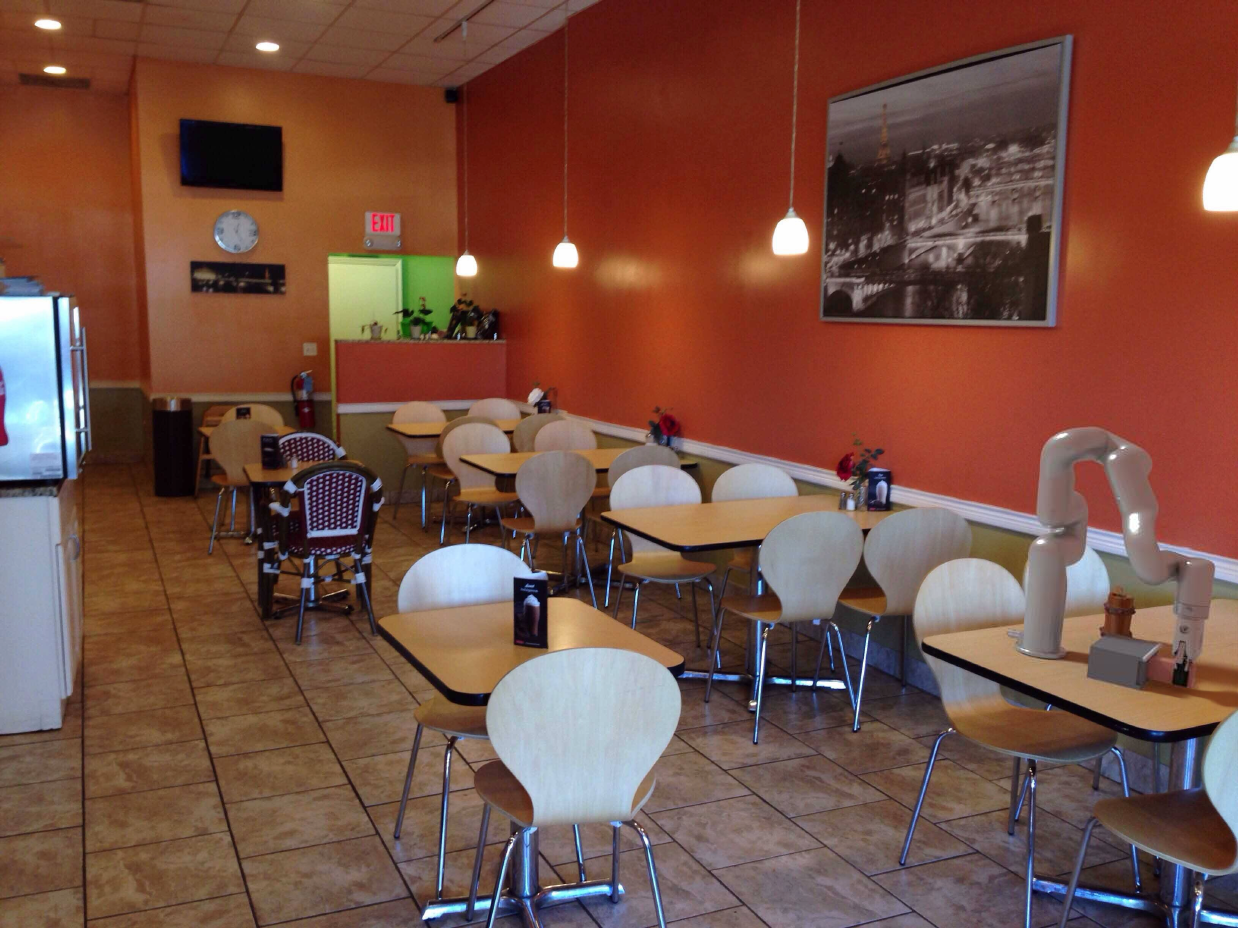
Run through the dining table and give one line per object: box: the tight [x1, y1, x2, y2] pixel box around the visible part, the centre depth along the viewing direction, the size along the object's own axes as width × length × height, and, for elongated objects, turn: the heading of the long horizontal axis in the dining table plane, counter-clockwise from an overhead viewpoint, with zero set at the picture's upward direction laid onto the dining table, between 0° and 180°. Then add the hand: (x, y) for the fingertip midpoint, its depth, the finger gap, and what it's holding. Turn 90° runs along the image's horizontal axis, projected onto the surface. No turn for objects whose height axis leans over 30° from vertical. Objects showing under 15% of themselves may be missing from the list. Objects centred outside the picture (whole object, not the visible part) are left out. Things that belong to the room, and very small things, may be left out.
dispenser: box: [1086, 632, 1164, 691], centre depth 257 cm, size 13×16×8 cm
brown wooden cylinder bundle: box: [1098, 585, 1137, 638], centre depth 283 cm, size 15×8×15 cm, turn 160°
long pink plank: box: [1147, 655, 1198, 689], centre depth 253 cm, size 18×3×5 cm, turn 50°
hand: (1181, 682), depth 249 cm, fingers closed on long pink plank, 3 cm apart
